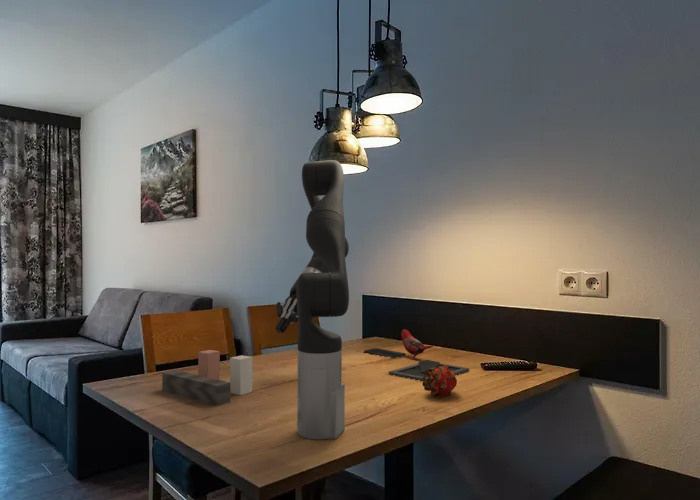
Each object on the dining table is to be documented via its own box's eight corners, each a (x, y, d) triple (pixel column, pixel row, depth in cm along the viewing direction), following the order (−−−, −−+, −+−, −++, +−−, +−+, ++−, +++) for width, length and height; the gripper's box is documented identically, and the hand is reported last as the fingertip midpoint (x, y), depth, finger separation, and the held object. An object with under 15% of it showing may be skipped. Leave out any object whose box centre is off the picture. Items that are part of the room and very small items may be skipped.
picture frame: (427, 365, 173) (388, 376, 158) (427, 359, 173) (388, 370, 158) (469, 373, 162) (432, 385, 147) (469, 366, 162) (432, 378, 147)
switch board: (265, 397, 132) (266, 373, 132) (216, 412, 120) (216, 386, 120) (209, 383, 146) (209, 362, 146) (159, 395, 133) (159, 372, 133)
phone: (376, 348, 198) (406, 353, 187) (376, 351, 198) (406, 356, 187) (362, 350, 192) (393, 356, 181) (362, 353, 192) (393, 359, 181)
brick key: (219, 384, 140) (219, 351, 140) (207, 387, 137) (207, 353, 137) (210, 381, 143) (210, 349, 143) (198, 384, 139) (198, 351, 140)
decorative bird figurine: (403, 355, 187) (403, 328, 187) (436, 364, 172) (436, 334, 172) (397, 356, 186) (397, 328, 186) (430, 365, 171) (430, 335, 171)
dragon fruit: (425, 406, 130) (446, 402, 140) (451, 390, 127) (471, 387, 136) (410, 376, 134) (431, 374, 143) (435, 360, 130) (455, 359, 140)
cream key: (252, 391, 133) (252, 357, 133) (240, 395, 129) (240, 359, 129) (241, 389, 135) (241, 355, 135) (229, 392, 132) (230, 357, 132)
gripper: (285, 276, 155) (255, 321, 145) (319, 277, 147) (289, 325, 137) (297, 292, 159) (268, 337, 149) (330, 295, 152) (302, 342, 142)
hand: (279, 331), depth 143 cm, fingers closed
